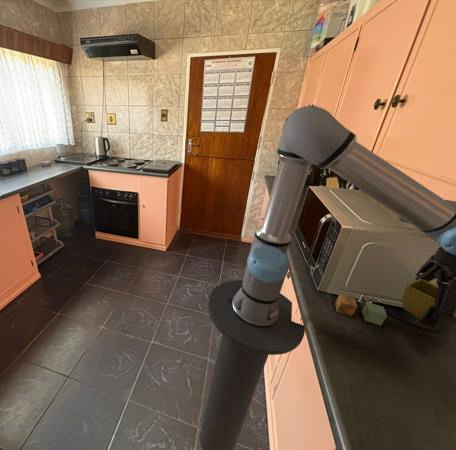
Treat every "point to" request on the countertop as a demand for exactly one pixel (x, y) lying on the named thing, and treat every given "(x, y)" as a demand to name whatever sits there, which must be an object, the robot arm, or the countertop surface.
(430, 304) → the flower pot
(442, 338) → the countertop surface
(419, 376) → the countertop surface
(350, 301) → the oak block
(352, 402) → the countertop surface
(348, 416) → the countertop surface
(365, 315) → the green block
